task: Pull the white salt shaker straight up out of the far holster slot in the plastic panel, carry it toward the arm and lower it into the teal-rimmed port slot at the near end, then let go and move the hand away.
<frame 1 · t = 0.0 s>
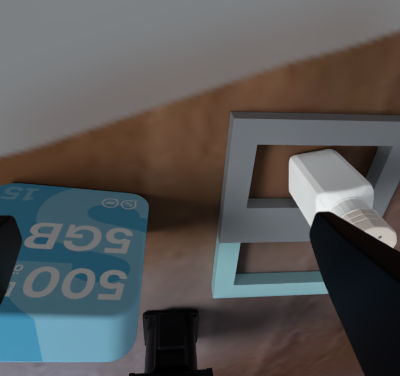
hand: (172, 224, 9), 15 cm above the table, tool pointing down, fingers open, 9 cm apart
white salt shaker: (308, 168, 26), resting in panel
panel: (296, 215, 29), on the table
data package: (79, 207, 26), on the table
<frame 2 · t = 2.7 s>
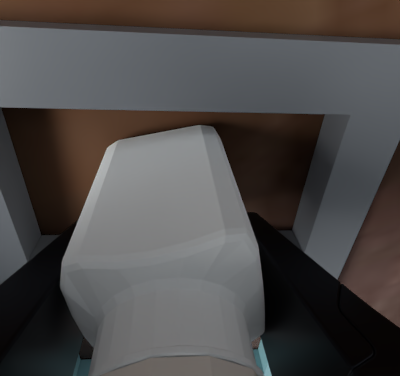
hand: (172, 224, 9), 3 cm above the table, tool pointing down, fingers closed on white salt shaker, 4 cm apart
white salt shaker: (171, 171, 12), resting in panel, touching gripper
panel: (171, 264, 14), on the table
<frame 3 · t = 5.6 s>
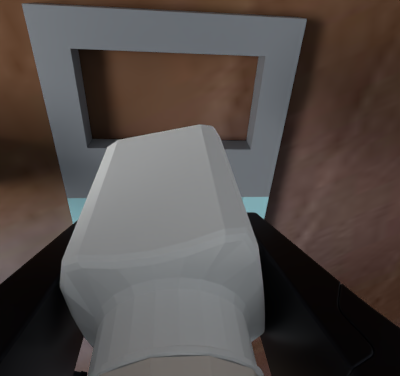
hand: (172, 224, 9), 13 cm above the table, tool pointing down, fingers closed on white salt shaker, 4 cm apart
white salt shaker: (171, 171, 12), point 10 cm above the table, touching gripper
panel: (171, 164, 23), on the table
when the fingers open (4 cm above the table, at t = 8.8 s): white salt shaker stays where it is, resting in panel.
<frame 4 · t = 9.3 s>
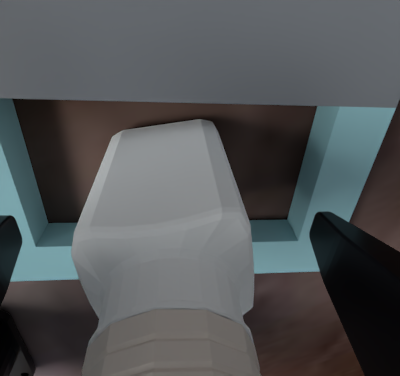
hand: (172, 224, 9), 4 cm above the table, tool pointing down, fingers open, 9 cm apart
white salt shaker: (170, 162, 12), resting in panel
panel: (172, 25, 10), on the table
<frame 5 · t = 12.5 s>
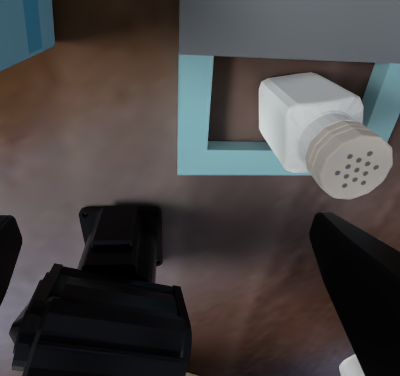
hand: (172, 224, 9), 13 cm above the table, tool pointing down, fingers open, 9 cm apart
white salt shaker: (284, 101, 21), resting in panel
panel: (303, 19, 18), on the table
foam cup: (360, 361, 43), on the table
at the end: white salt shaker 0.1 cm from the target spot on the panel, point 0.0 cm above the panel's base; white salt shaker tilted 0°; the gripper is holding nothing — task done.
